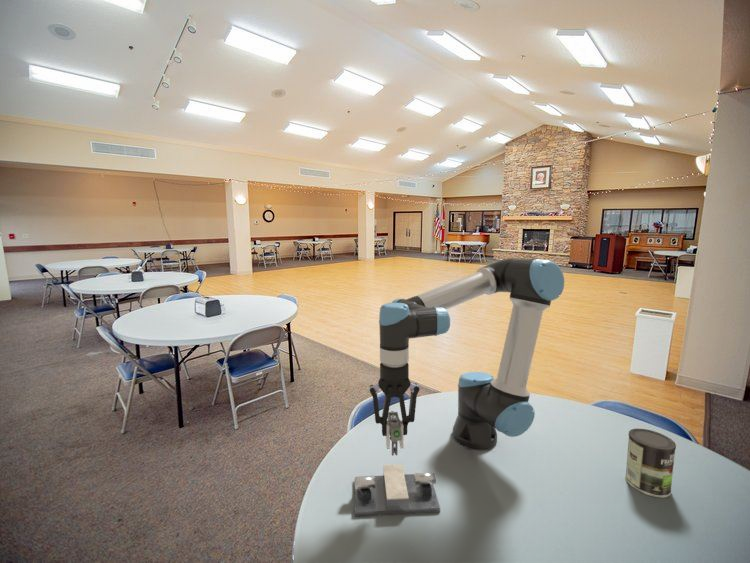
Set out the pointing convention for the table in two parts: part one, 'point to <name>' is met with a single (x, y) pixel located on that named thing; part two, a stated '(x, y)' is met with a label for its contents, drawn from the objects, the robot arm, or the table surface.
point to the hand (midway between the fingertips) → (394, 445)
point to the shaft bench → (395, 493)
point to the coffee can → (650, 462)
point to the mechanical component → (394, 430)
